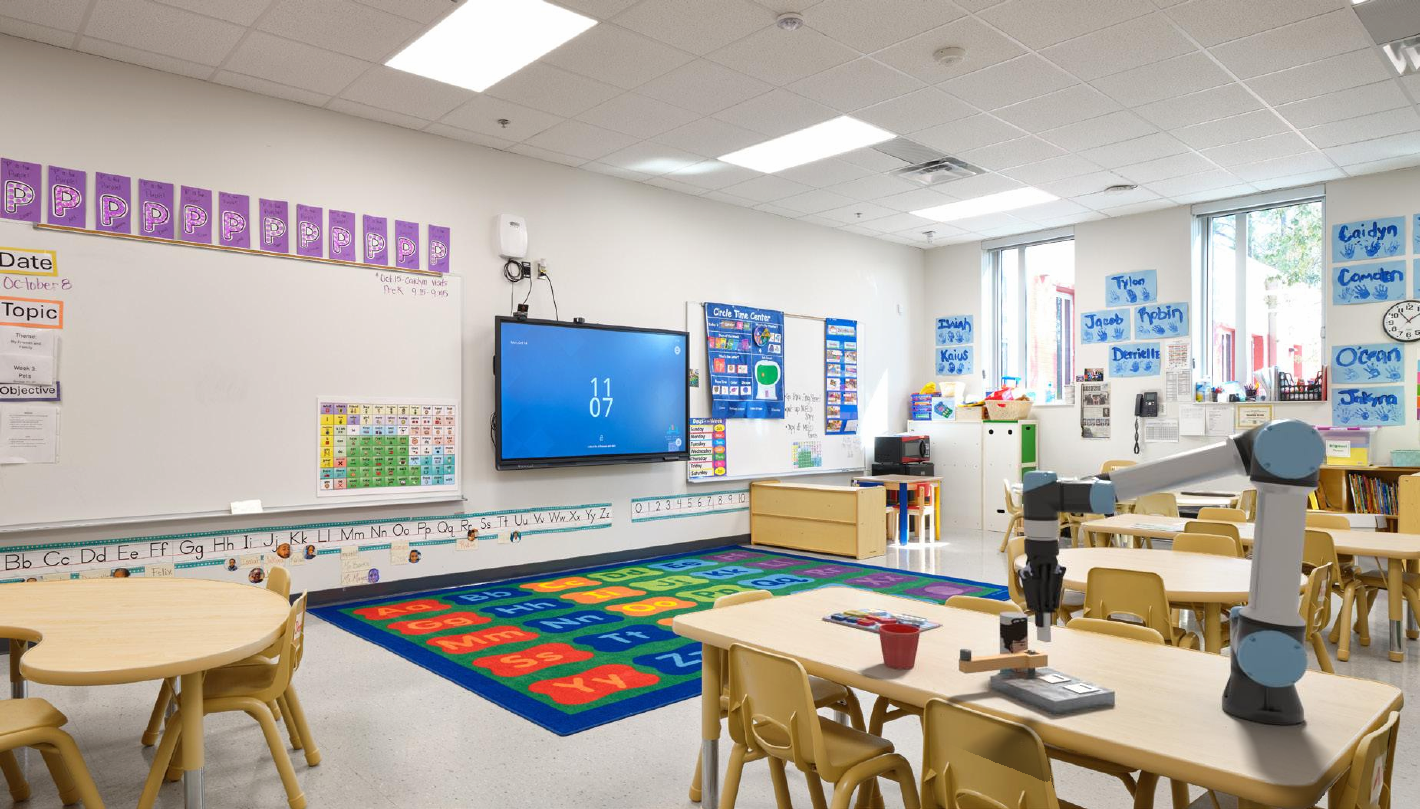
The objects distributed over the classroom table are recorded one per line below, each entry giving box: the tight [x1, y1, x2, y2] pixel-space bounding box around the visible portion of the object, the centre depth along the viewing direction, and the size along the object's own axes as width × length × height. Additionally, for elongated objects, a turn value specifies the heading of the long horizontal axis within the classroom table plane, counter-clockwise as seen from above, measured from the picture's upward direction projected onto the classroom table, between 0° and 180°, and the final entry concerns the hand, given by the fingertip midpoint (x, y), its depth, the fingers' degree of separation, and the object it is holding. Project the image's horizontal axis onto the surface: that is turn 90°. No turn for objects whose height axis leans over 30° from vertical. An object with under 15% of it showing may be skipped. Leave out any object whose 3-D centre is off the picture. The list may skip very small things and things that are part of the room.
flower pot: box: [878, 624, 921, 670], centre depth 221 cm, size 11×11×10 cm
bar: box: [958, 648, 1049, 675], centre depth 202 cm, size 23×5×5 cm, turn 109°
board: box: [989, 649, 1116, 716], centre depth 196 cm, size 20×18×8 cm
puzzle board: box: [821, 608, 944, 634], centre depth 268 cm, size 30×23×3 cm
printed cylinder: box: [999, 611, 1029, 675], centre depth 213 cm, size 7×7×15 cm
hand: (1044, 640), depth 193 cm, fingers closed
